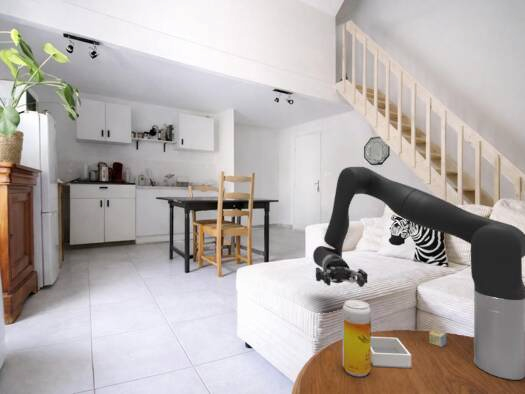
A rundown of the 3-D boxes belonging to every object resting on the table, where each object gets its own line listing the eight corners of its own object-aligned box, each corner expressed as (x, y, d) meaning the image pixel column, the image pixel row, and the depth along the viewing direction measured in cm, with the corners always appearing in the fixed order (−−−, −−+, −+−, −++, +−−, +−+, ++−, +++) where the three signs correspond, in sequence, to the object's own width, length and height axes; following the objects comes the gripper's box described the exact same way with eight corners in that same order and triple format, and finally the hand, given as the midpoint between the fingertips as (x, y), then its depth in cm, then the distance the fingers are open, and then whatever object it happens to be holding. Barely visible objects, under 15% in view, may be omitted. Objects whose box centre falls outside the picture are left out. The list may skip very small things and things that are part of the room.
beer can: (372, 379, 64) (373, 309, 64) (343, 376, 65) (343, 307, 65) (368, 364, 70) (368, 300, 70) (341, 361, 71) (342, 298, 71)
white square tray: (397, 349, 77) (397, 337, 77) (411, 368, 68) (411, 355, 68) (363, 347, 77) (363, 336, 77) (372, 366, 69) (373, 353, 69)
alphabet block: (441, 347, 78) (441, 336, 78) (429, 343, 80) (429, 332, 80) (446, 344, 80) (446, 333, 80) (434, 340, 82) (434, 329, 82)
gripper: (312, 255, 96) (318, 267, 79) (357, 256, 95) (373, 269, 78) (312, 278, 96) (318, 295, 80) (357, 280, 95) (372, 297, 78)
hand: (345, 282), depth 79 cm, fingers open, 8 cm apart
